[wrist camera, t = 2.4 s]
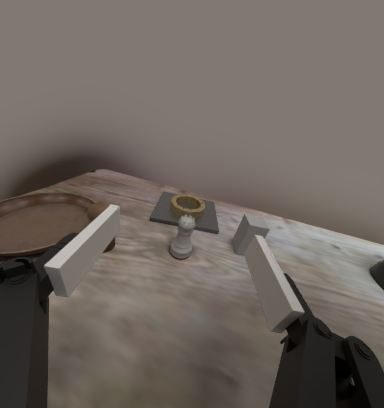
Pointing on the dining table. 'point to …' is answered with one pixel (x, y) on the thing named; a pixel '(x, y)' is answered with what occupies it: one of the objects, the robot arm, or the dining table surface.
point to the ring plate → (185, 211)
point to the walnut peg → (94, 213)
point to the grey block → (248, 232)
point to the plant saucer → (40, 221)
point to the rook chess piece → (183, 238)
